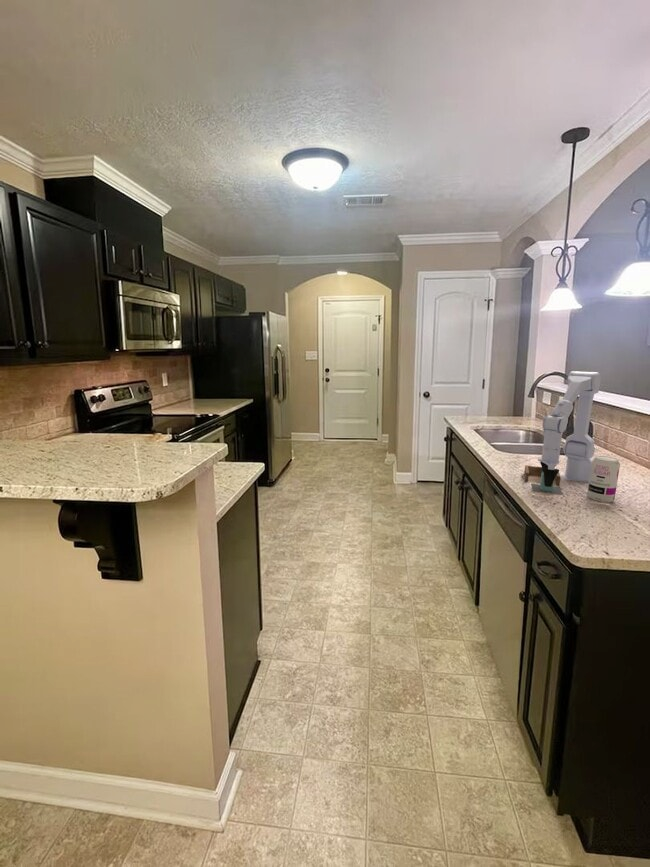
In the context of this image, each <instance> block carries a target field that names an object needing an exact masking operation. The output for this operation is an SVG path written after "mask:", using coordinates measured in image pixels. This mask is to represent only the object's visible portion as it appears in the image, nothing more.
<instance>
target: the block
mask: <svg viewBox="0 0 650 867" xmlns="http://www.w3.org/2000/svg"><path fill="white" fill-rule="evenodd" d="M553 484H554V481H553ZM553 484H552V486H551V487H547V486H545V484H544V473H543V472H542V473H541V482H540V483H539V485H540V489H541V490H546V491H553V486H554V485H553Z"/></svg>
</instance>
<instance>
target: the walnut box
mask: <svg viewBox="0 0 650 867" xmlns="http://www.w3.org/2000/svg"><path fill="white" fill-rule="evenodd" d="M541 473H542V466H537V465H536V466H534V465H524V481H525V482H526V483H532V484H540V482H541ZM560 482H561V474H560V471H559V472H558V474H557V475H556V477H555V479H554V484H553V486H557V487H560Z"/></svg>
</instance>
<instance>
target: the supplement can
mask: <svg viewBox="0 0 650 867" xmlns="http://www.w3.org/2000/svg"><path fill="white" fill-rule="evenodd" d="M592 460H593V461H592V465H591V472H590V479H589V482H588V485H587V486H588V487H587V498H589V499H591V500H594V501H597V502H603V503H612V502H614V501H615V499H616V498H615V497H616V493H617V488H618V487H617V486H618V481H619V473H620V468H621V467H620V466H621V464H620V461H619V459H618V458H616V457H612V456H605V455H597V456H594V458H593V459H592Z"/></svg>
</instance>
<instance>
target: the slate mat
mask: <svg viewBox="0 0 650 867" xmlns="http://www.w3.org/2000/svg"><path fill="white" fill-rule="evenodd" d="M531 489H532V490H531V491H532V492H534V493H536V492H537V493H543V494H552V495H559V496H564V494H563V492H562V489H561V486H557V485H553V491H546V490H541V489H540V483H531Z"/></svg>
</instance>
